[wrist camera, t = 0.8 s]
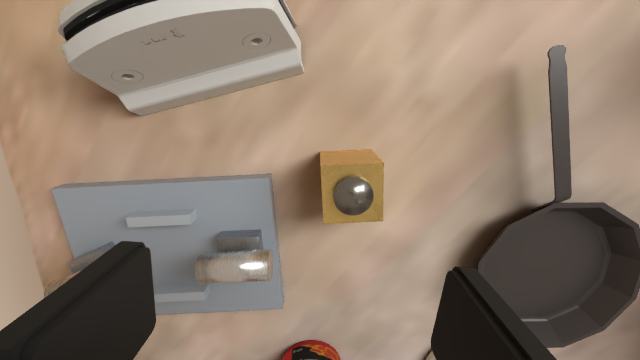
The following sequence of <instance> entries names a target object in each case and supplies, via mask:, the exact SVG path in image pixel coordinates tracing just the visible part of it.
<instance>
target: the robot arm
mask: <svg viewBox="0 0 640 360" xmlns="http://www.w3.org/2000/svg"><path fill="white" fill-rule="evenodd" d="M155 323H156V313H155V300H154V288H153V276H152V263H151V252H150V249H149V248H148V247H146V246H145V244H144V243H143V242H133V241H121V242H119V243H118V244H116V245H115V246H114V247H112V248H111V249H110V250H108V251H107V252H106V253H104V254H103V255H102V256H100V257H99V258H98V259H96V260H95V261H94V262H92V263H91V264H89V265H88V266H87V267H85V268H84V269H83V270H81V271H80V272H79V273H77V274H76V275H75V276H73V277H72V278H71V279H69V280H68V281H67V282H65V283H64V284H63V285H61V286H60V287H59V288H57V289H56V290H55V291H53V292H52V293H51V294H49V295H48V296H47V297H45V298H44V299H43V300H41V301H40V302H39V303H37V304H36V305H35V306H33V307H32V308H31V309H29V310H28V311H26V312H25V313H24V314H22V315H21V316H20V317H18V318H17V319H16V320H14V321H13V322H12V323H10V324H9V325H8V326H6V327H5V328H4V329H2V330H1V331H0V360H133V359H134V357H135V356H136V355H137V353H138V352H139V350H140V349H141V347H142V346H143V345H144V343H145V342H146V340H147V339H148V337H149V336H150V334H151V333H152V331H153V329H154V327H155ZM431 347H432V351H431V352H430V354H429V355H428V357H427V358H426V360H557V359H556V358H555V357H554V356H553V355H552V354H551V353H550V352H549V351H548V349H547V348H546V347H545V346H544V345H543V344H542V343H541V342H540V340H539V339H538V338H537V337H536V336H535V335H534V334H533V333H532V331H531V330H530V329H529V328H528V327H527V326H526V325H525V324H524V322H523V321H522V320H521V319H520V318H519V317H518V316H517V315H516V313H515V312H514V311H513V310H512V309H511V308H510V307H509V306H508V304H507V303H506V302H505V301H504V300H503V299H502V298H501V297H500V295H499V294H498V293H497V292H496V291H495V290H494V289H493V288H492V286H491V285H490V284H489V283H488V282H487V281H486V280H485V279H484V277H483V276H482V275H481V274H480V273H479V272H478V271H477V270H476V269H475V268H468V267H454V268H453V269H452V271H448V273H447V275H446V279H445V283H444V287H443V292H442V296H441V300H440V304H439V308H438V312H437V316H436V321H435V325H434V329H433V333H432V337H431Z"/></svg>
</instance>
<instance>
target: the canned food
mask: <svg viewBox="0 0 640 360" xmlns="http://www.w3.org/2000/svg"><path fill="white" fill-rule="evenodd" d="M281 360H341V359H340V357H339V355H338V353H337V352H336V350H335V349H334V348H333V347H332V346H330V345H329V344H327V343H324V342H321V341H315V340H309V341H303V342H299V343H297V344H295V345H293V346H292V347H290V348H289V349H288V350H287V351H286V352H285V354H284V355H283V357H282V359H281Z"/></svg>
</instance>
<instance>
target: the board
mask: <svg viewBox="0 0 640 360" xmlns="http://www.w3.org/2000/svg"><path fill="white" fill-rule="evenodd" d="M51 190H52V193H53V196H54V199H55V202H56V205H57V209H58V212H59V215H60V218H61V221H62V224H63V227H64V230H65V233H66V236H67V239H68V242H69V245H70V248H71V252H72V255H73V258H74V259H75V258H76V257H78V256H79V255H81V254H83V253H86V252H88V251H91V250H93V249H95V248H98V247H100V246H103V245H105V244H108V243H110V242H112V241H113V242H114V243H115V245H116V244H118V243H119V242H121V241H133V242H143V243H144V244H145V246H146V247H148V248H149V249H150V252H151V263H152V276H153V288H154V300H155V313H156V315H160V314H183V313H205V312H227V311H249V310H271V309H283V303H284V295H283V285H282V275H281V265H280V256H279V246H278V236H277V226H276V216H275V206H274V196H273V186H272V176H271V174H258V175H238V176H218V177H198V178H178V179H158V180H138V181H118V182H98V183H77V184H63V185H60V186H58V187H55V188H52V189H51ZM255 229H261V232H262V240H263V249H264V250H271V251H272V256H273V275H272V279H271V281H260V282H238V283H216V284H198V282H197V280H196V276H195V266H196V261H197V258H198V256H199V255H200V254H201V253H208V252H218V248H217V242H216V238H217V237H218V236H219V234H220V233H221V231H234V230H255Z"/></svg>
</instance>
